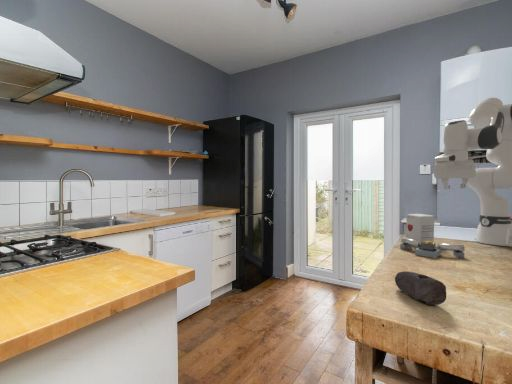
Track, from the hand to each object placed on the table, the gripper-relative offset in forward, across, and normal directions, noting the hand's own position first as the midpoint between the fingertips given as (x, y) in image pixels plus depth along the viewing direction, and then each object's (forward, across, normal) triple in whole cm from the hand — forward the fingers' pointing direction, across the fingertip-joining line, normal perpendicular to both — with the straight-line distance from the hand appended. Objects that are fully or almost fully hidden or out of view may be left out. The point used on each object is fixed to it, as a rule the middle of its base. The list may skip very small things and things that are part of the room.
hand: (455, 188), depth 123 cm
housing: (+28, +16, +1) cm, 32 cm away
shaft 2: (+28, +9, +5) cm, 30 cm away
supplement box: (+29, +2, -17) cm, 34 cm away
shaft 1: (+28, +16, -8) cm, 33 cm away
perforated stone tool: (+27, +57, +35) cm, 72 cm away
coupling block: (+28, +16, +1) cm, 32 cm away
